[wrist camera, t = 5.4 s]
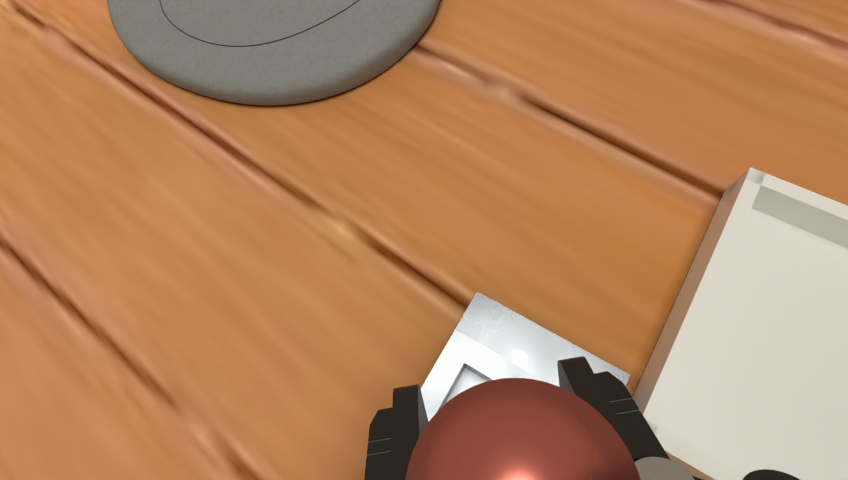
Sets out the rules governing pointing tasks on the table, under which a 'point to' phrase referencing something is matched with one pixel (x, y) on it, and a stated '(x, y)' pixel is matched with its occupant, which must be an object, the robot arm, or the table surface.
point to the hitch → (499, 353)
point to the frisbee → (269, 44)
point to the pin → (519, 437)
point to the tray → (758, 340)
